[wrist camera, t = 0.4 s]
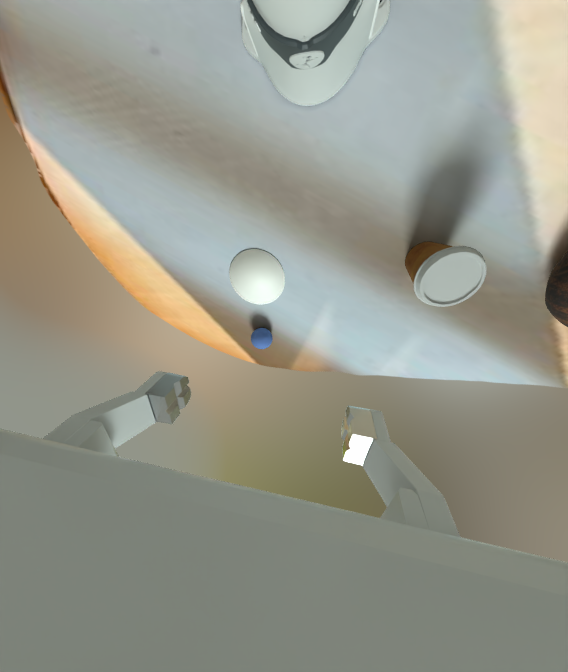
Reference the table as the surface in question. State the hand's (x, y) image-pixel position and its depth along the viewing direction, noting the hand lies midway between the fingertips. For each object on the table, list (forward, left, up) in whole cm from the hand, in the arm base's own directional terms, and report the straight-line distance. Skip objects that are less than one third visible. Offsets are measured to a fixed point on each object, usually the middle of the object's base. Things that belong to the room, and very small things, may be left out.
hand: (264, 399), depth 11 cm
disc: (+9, -12, -40) cm, 43 cm away
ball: (+24, -12, -37) cm, 46 cm away
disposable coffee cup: (+5, +22, -40) cm, 46 cm away
